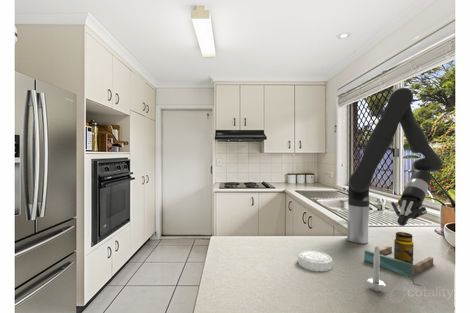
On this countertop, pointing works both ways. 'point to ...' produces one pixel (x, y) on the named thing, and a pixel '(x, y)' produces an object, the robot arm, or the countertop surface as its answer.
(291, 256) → the countertop surface
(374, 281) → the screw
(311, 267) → the mooncake
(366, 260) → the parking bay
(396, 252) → the condiment
